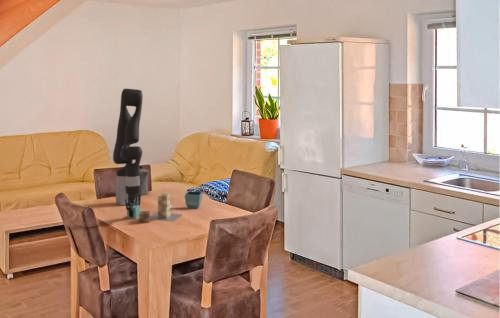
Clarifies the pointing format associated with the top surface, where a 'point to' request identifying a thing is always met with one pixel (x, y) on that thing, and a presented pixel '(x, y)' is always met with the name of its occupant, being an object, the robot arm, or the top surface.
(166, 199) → the tower top block
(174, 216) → the slate board
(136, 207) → the teal block
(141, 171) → the coffeepot
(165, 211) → the tower base block
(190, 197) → the flower pot
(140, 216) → the walnut block
